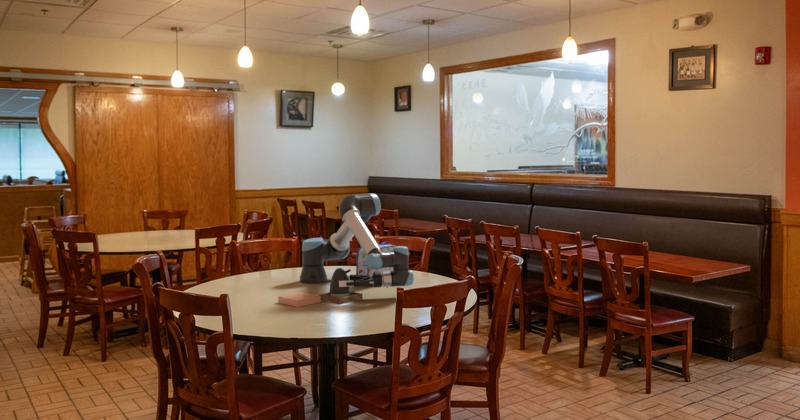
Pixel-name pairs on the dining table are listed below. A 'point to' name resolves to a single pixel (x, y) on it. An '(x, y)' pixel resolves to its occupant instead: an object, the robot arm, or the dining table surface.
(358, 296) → the brown wooden trivet
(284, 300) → the stand
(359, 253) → the lunch box
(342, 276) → the pump dispenser
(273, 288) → the dining table surface
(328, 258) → the robot arm
